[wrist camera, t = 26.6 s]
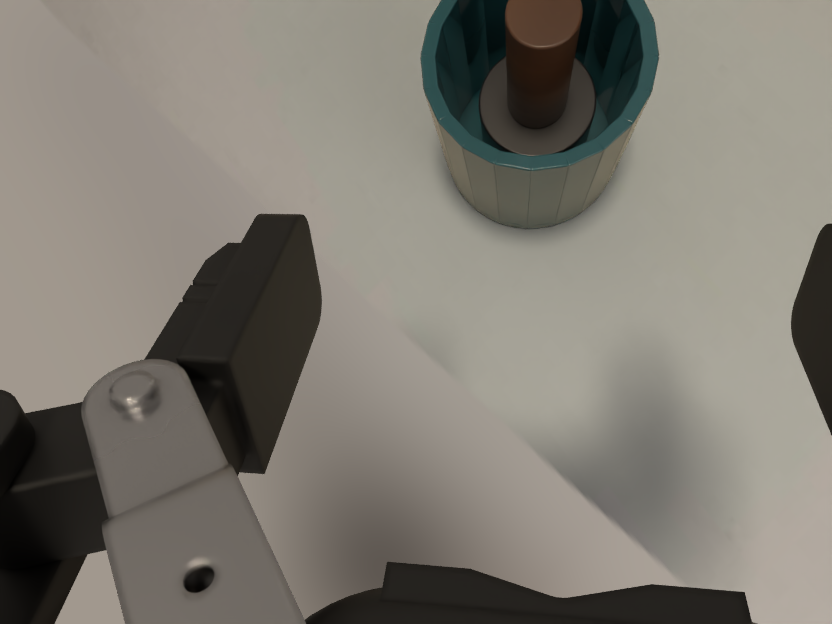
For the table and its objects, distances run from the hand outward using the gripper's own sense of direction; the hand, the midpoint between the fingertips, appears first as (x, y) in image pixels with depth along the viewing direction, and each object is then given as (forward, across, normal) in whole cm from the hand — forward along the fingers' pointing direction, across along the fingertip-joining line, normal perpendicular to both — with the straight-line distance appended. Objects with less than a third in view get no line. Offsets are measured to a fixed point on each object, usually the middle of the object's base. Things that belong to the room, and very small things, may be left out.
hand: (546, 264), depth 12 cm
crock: (+20, 0, +8) cm, 22 cm away
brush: (+20, 0, +7) cm, 21 cm away
